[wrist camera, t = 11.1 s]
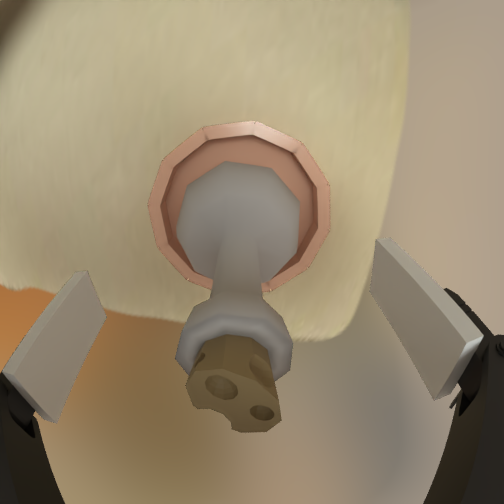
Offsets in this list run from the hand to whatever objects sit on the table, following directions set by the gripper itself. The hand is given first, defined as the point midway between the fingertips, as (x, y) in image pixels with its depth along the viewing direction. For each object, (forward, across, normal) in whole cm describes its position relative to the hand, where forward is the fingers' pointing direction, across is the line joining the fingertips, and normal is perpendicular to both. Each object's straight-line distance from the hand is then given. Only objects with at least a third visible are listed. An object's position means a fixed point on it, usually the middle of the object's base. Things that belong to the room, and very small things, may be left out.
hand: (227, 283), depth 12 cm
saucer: (+13, 0, -1) cm, 13 cm away
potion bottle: (+12, 0, 0) cm, 12 cm away
